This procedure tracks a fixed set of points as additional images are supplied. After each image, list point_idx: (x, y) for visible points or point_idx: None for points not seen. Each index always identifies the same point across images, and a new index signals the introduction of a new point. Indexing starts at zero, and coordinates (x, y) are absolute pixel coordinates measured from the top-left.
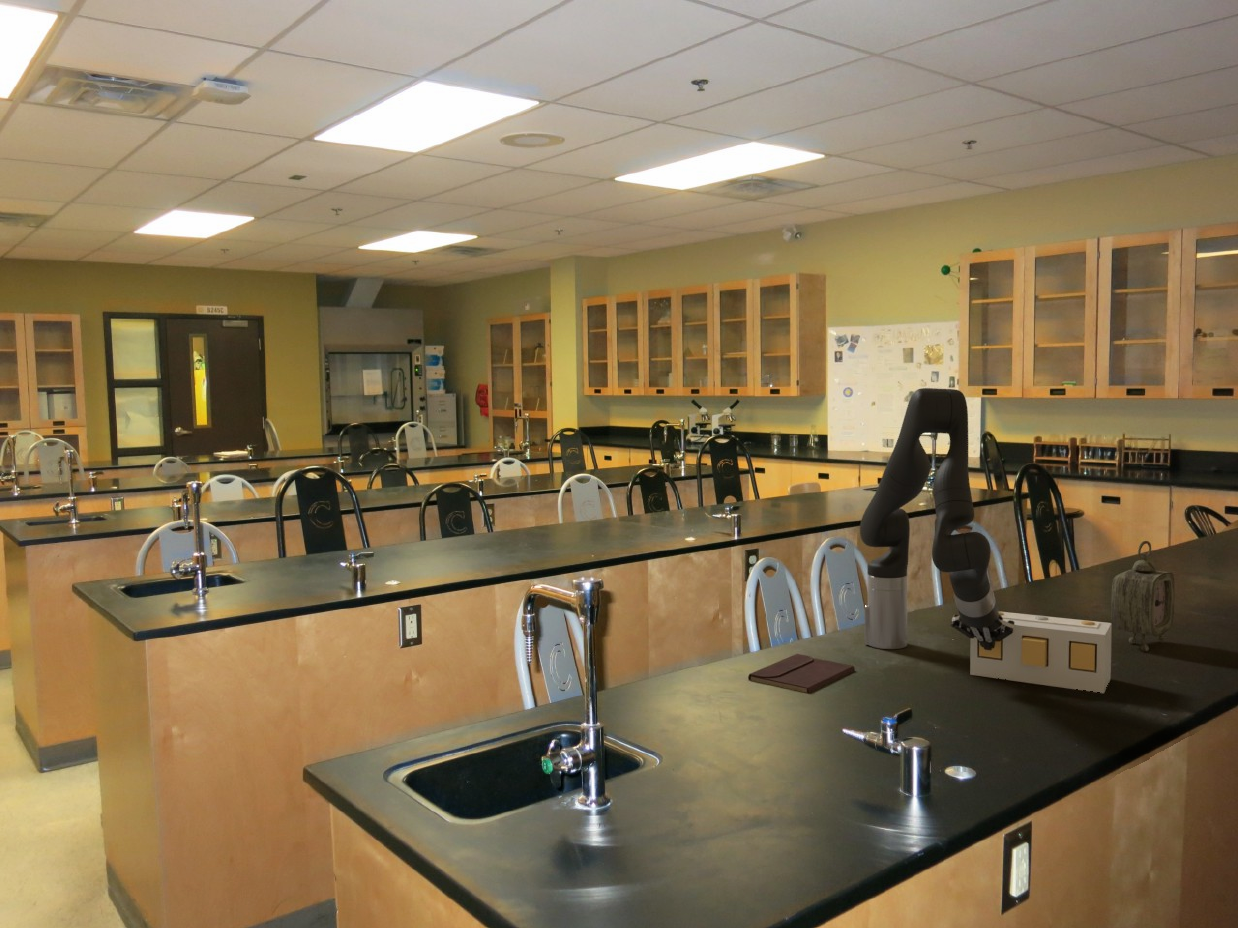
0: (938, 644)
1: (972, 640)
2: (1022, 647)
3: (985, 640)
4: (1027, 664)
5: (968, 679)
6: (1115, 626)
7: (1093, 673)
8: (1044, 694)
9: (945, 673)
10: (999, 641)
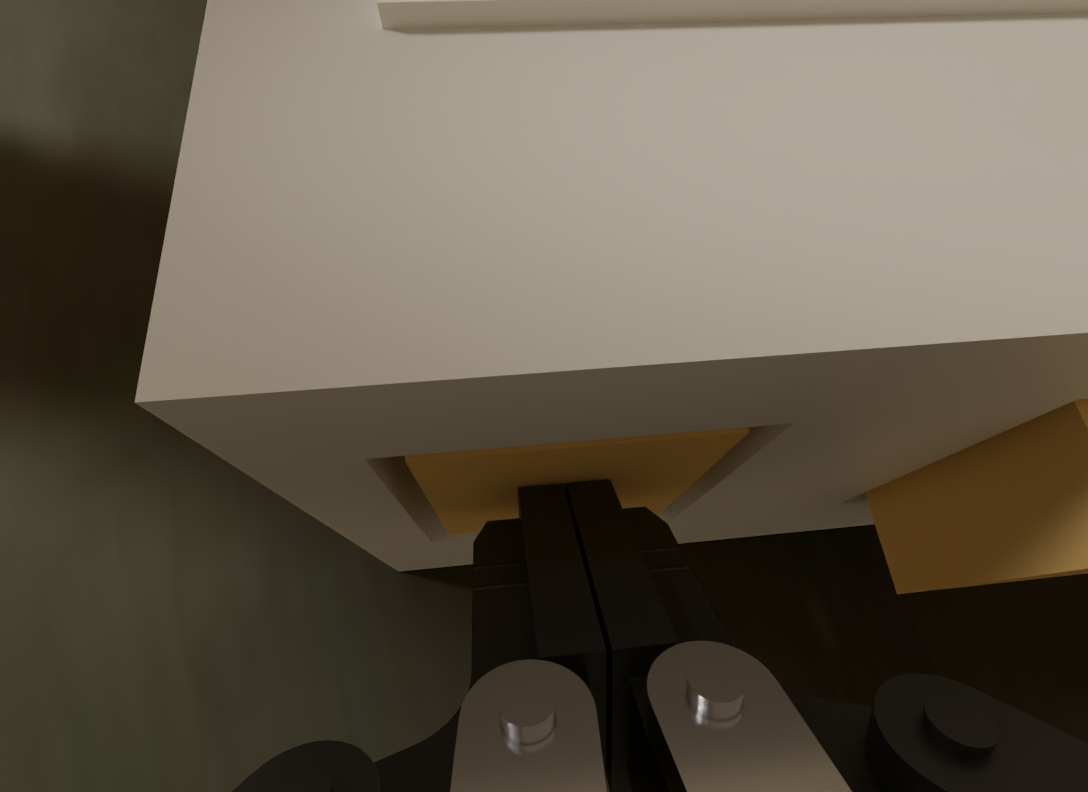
0: (75, 48)
1: (336, 513)
2: (1043, 573)
3: (604, 766)
4: (949, 588)
5: (419, 719)
6: None
7: None
8: None
9: (206, 657)
10: (696, 468)
